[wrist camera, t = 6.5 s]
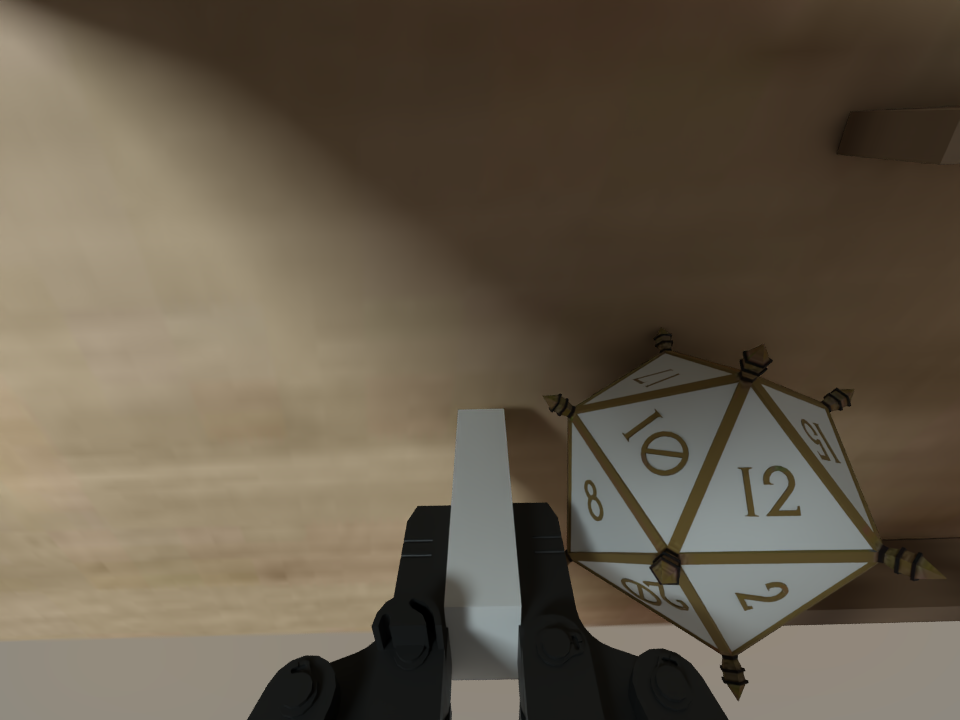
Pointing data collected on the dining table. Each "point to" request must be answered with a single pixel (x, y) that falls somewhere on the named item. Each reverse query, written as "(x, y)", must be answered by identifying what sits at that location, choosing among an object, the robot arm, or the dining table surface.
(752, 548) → the game die
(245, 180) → the dining table surface
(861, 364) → the dining table surface
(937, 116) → the walnut bay
